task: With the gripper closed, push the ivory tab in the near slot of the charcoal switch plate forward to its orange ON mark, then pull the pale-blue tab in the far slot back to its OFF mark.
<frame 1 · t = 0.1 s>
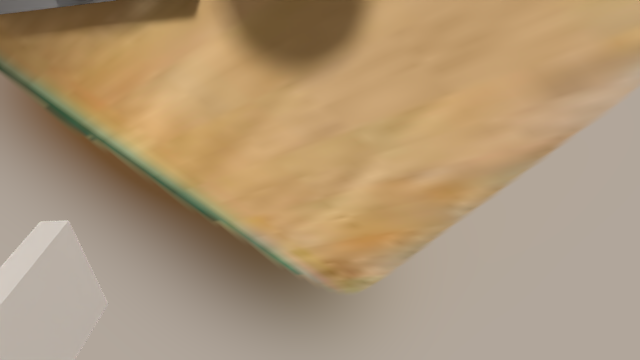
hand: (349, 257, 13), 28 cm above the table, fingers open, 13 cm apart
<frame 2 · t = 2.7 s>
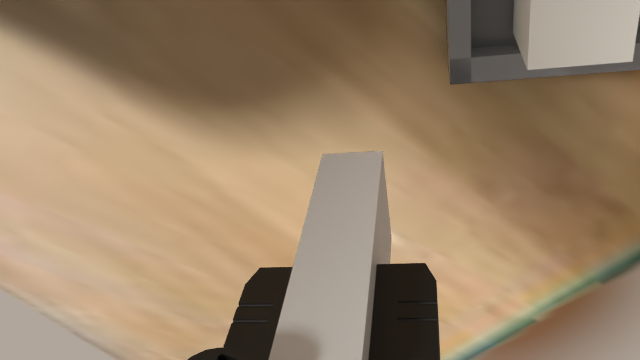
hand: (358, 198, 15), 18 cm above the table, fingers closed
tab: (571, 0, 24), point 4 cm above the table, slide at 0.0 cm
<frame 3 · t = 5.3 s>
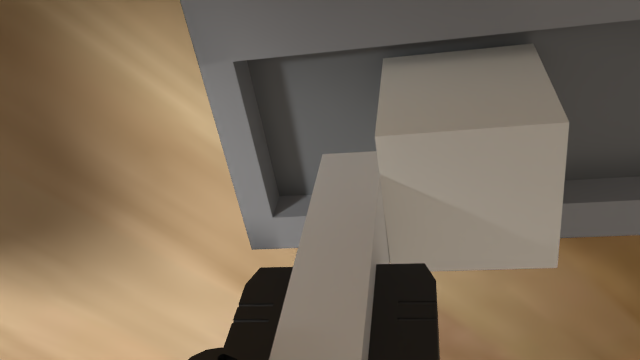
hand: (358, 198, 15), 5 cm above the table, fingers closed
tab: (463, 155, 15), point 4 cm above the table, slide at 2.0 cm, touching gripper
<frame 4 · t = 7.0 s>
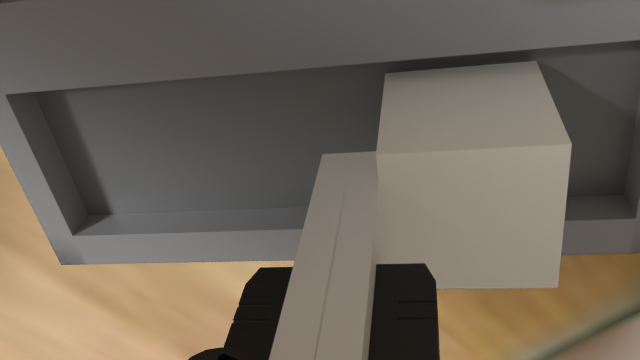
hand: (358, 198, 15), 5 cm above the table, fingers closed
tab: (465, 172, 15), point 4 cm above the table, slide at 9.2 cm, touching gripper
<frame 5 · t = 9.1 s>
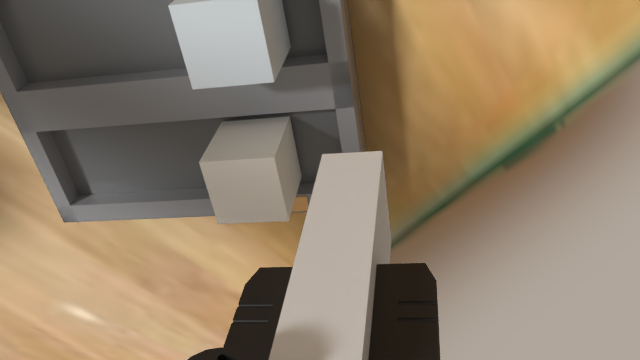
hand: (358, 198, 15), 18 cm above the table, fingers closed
switch plate: (186, 79, 34), on the table
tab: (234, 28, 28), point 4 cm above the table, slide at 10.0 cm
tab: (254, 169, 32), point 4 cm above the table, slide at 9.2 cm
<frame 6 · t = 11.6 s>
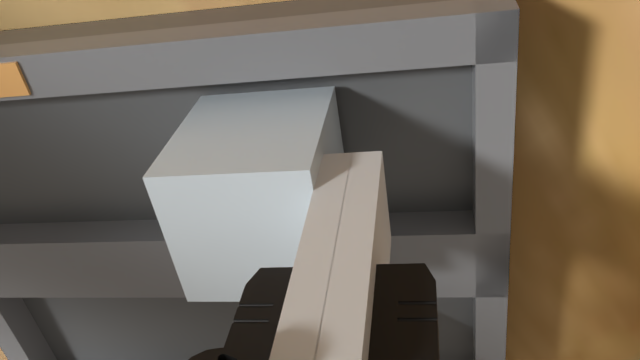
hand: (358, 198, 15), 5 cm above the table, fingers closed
switch plate: (225, 221, 22), on the table
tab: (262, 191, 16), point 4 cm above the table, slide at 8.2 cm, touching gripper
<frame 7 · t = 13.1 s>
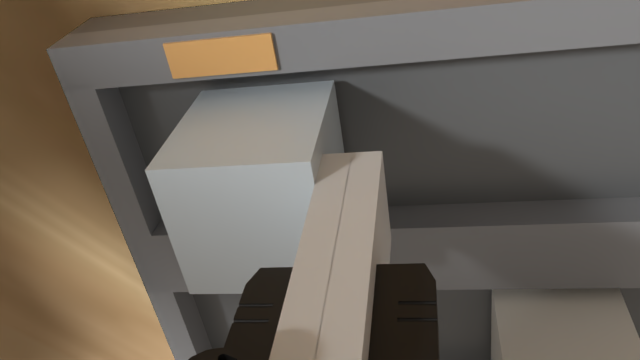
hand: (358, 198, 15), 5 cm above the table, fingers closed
switch plate: (423, 209, 21), on the table
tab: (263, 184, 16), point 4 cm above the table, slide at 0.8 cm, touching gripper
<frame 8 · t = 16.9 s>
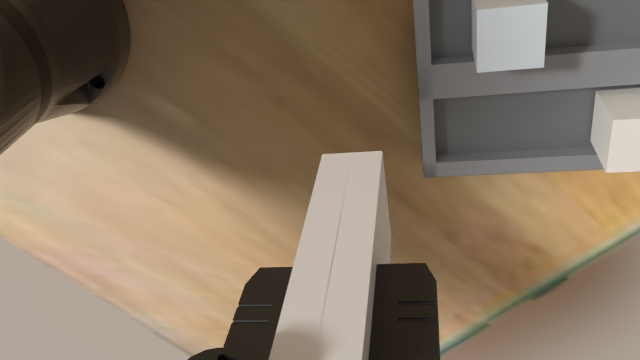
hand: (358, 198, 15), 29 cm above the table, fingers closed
switch plate: (559, 56, 42), on the table
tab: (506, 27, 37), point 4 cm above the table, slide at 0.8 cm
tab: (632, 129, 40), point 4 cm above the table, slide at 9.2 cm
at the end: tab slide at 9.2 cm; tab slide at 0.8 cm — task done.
